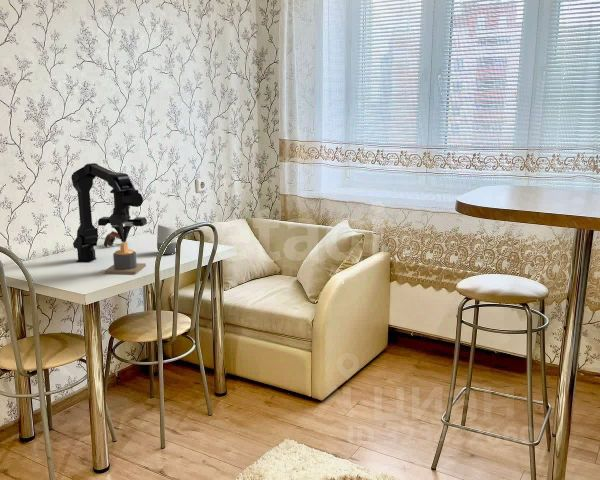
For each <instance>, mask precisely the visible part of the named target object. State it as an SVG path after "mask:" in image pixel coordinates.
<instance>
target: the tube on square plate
mask: <svg viewBox="0 0 600 480" xmlns="http://www.w3.org/2000/svg"><path fill="white" fill-rule="evenodd" d="M112 254H113V255H112V256H113V257H112V258H113V264H112V265H111V266H109V267H108V268H106V269H105V270H103V271H104V274H105V275H136V274H138V273H139V272H141V271H142V270H143V269H145V268H146V267H147V264H146V263H143V262H142V263H139V262H138V263H137V252H136V251H134V250H133V254H130V255H116V254H115V252H113V253H112Z"/></svg>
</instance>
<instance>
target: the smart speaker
mask: <svg viewBox="0 0 600 480" xmlns="http://www.w3.org/2000/svg"><path fill="white" fill-rule="evenodd" d="M174 231H175V232H176V230H175V227H173V226H171V225H167V224H162V223H158V224H157V237H156V248H157V252H158V251H159V249H160V247H161V245H162V244H163V242H164V241H165V240H166V239H167V237H168V236H170V235H171V234H172V233H173V232H174ZM176 240H177V236H176V237H175V238H174V239H173V240H172V241H171V243H170V244H169V245H168V246H167V248H166V250H165V252H164V254H171V255H173V254H172V253H174V254H176V252H175V248H176ZM177 241H178V240H177Z"/></svg>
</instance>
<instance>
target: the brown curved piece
mask: <svg viewBox="0 0 600 480" xmlns="http://www.w3.org/2000/svg"><path fill="white" fill-rule="evenodd" d="M117 239H118V240H121V239H120V237H119V234H118V232H117V231H114V230H111V232H110V233H108V234H107V235H106V236H105V237H104V240H103V241H104V243H103V246H104V247H105V248H108V246H109V247H113V245H114V242H115V241H116V240H117Z"/></svg>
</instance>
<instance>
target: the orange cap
mask: <svg viewBox="0 0 600 480" xmlns="http://www.w3.org/2000/svg"><path fill="white" fill-rule="evenodd" d="M133 251H134V249H129V248H128V242H127V241H126V242H121V243H120V244H119V249H117V250H116V251H115V252H114V253H115V254H116V255H130V254H133Z"/></svg>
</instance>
